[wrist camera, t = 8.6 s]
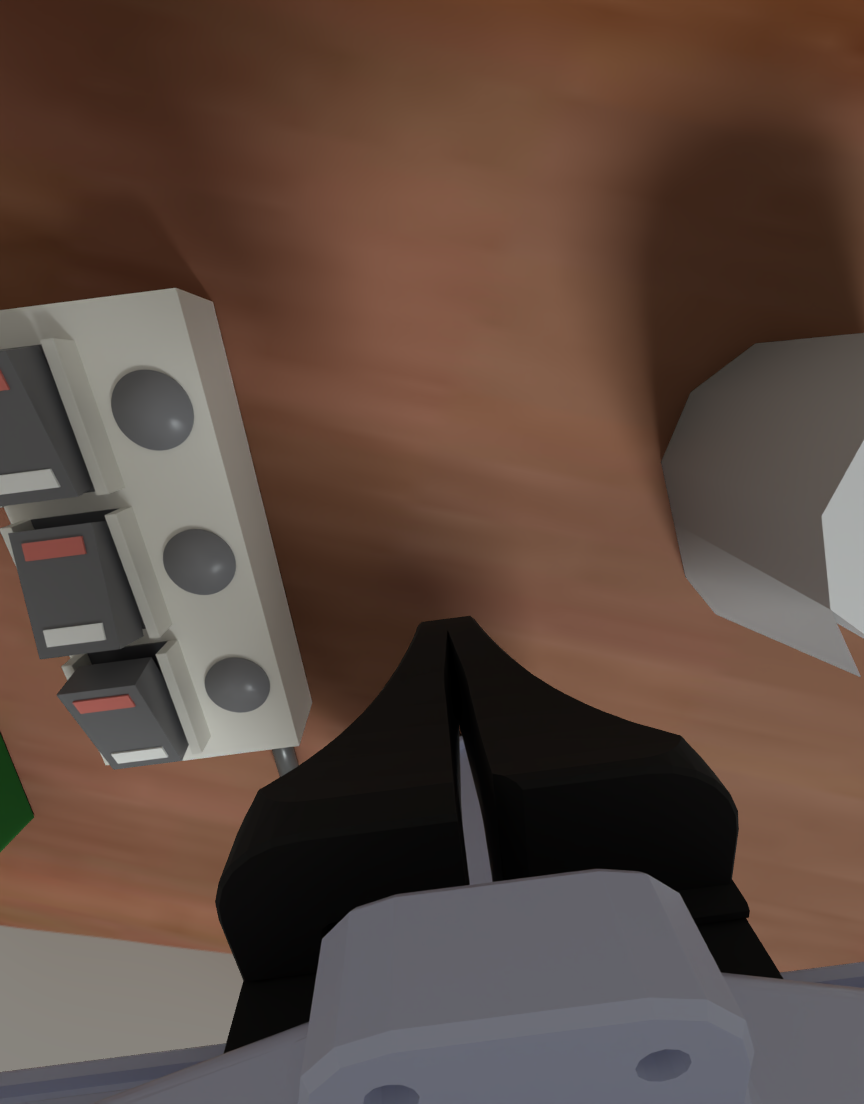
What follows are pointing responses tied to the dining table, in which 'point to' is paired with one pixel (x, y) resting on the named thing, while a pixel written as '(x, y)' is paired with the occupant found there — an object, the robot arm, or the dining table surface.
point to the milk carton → (11, 800)
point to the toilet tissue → (777, 492)
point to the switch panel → (174, 511)
